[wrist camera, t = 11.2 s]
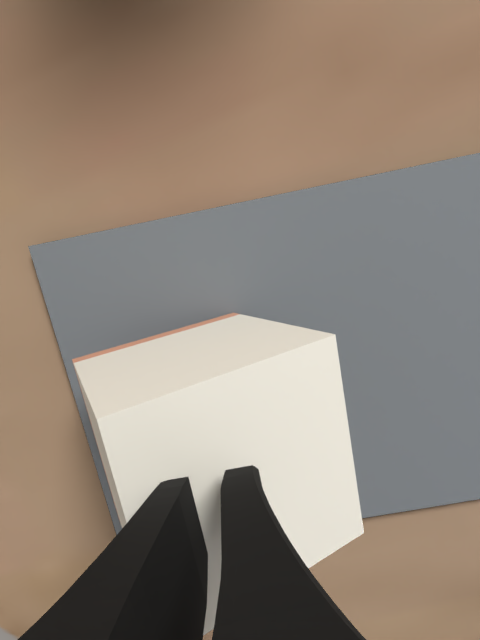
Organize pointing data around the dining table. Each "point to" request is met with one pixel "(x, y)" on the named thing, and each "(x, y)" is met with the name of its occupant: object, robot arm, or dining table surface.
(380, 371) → the mat
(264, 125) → the dining table surface
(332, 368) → the cube
